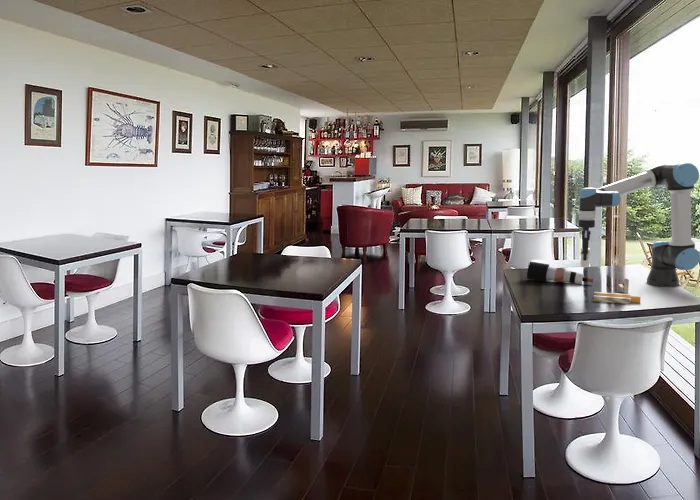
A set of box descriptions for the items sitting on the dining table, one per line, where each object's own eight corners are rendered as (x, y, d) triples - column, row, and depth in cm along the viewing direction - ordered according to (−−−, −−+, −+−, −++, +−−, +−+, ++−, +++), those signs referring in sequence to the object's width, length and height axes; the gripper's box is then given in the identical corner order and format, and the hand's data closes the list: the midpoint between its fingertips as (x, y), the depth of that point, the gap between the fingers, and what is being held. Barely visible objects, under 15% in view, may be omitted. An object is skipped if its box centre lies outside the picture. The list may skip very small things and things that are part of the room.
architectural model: (620, 294, 290) (621, 279, 289) (618, 291, 296) (619, 277, 295) (628, 294, 289) (628, 280, 288) (625, 291, 295) (626, 277, 294)
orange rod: (640, 297, 272) (640, 295, 269) (639, 304, 271) (640, 302, 268) (602, 295, 278) (603, 293, 276) (602, 301, 277) (602, 299, 275)
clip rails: (630, 299, 277) (630, 294, 277) (630, 303, 268) (631, 298, 268) (593, 296, 284) (594, 291, 284) (593, 301, 275) (593, 296, 274)
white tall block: (589, 265, 290) (590, 248, 289) (589, 267, 286) (589, 249, 285) (580, 265, 292) (581, 247, 290) (580, 266, 288) (581, 249, 287)
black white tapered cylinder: (590, 293, 309) (592, 279, 303) (526, 282, 323) (527, 268, 317) (593, 282, 316) (595, 267, 310) (530, 271, 330) (531, 257, 324)
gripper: (579, 217, 295) (577, 262, 298) (577, 220, 279) (575, 268, 283) (595, 217, 292) (593, 263, 295) (594, 221, 276) (592, 269, 280)
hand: (584, 265), depth 289 cm, fingers closed on white tall block, 4 cm apart
